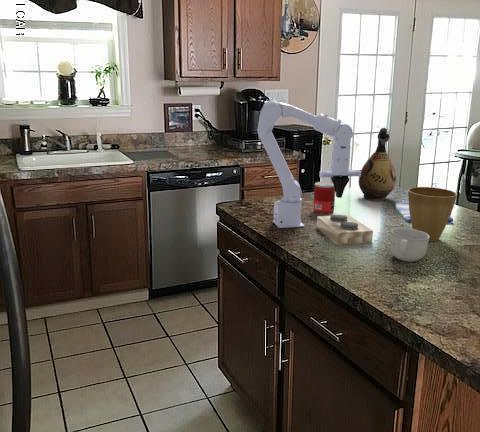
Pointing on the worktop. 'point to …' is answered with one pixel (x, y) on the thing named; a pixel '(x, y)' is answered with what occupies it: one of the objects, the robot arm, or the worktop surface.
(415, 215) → the plant pot
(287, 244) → the worktop surface
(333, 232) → the knob mount
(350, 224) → the knob front
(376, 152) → the ceramic jug
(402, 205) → the dish towel
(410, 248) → the teacup
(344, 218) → the knob rear
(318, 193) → the canned food
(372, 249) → the worktop surface
